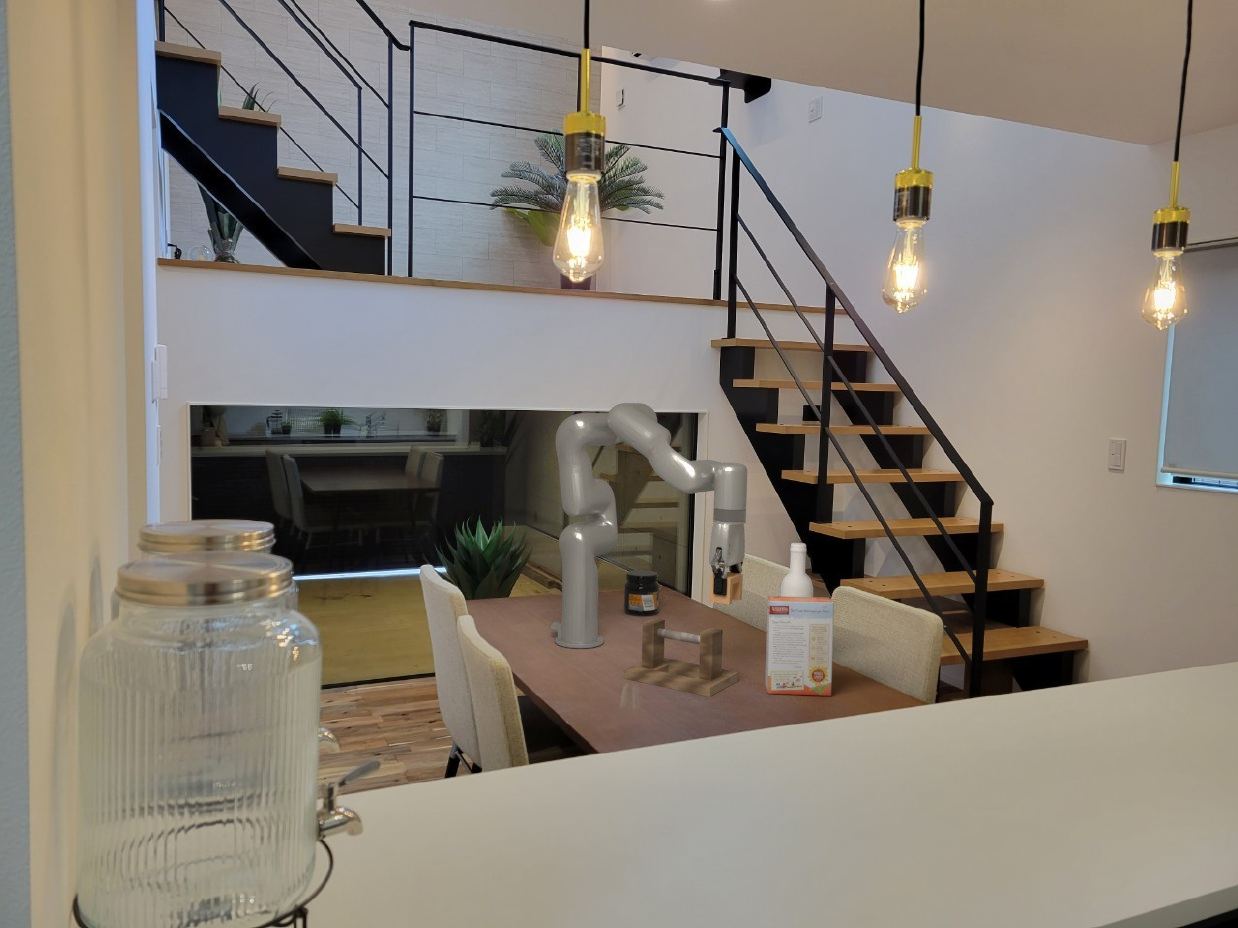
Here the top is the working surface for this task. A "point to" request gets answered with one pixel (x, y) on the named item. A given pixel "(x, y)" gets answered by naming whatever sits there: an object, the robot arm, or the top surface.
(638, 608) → the supplement container
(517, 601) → the top surface
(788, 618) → the cracker box
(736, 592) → the notched block
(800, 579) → the bottle
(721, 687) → the tan frame
